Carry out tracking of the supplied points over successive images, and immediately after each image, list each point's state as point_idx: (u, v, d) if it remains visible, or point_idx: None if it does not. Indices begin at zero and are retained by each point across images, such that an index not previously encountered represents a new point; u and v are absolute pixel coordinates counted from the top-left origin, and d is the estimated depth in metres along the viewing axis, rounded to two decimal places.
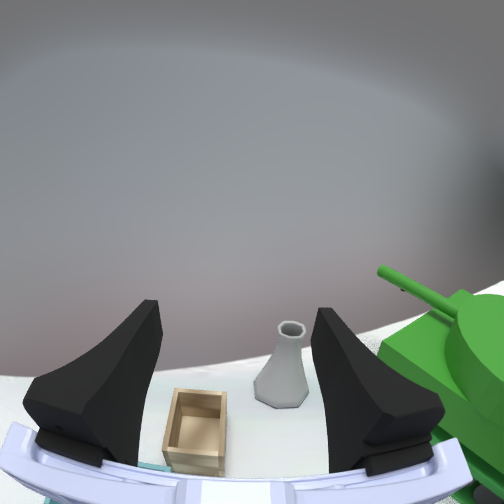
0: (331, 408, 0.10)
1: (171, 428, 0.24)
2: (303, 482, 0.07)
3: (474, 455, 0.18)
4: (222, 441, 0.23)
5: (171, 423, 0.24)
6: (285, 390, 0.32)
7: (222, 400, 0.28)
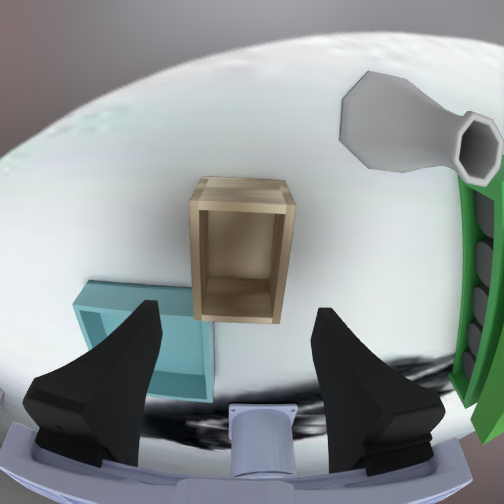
0: (331, 408, 0.10)
1: (200, 283, 0.18)
2: (303, 482, 0.07)
3: (491, 357, 0.22)
4: (279, 304, 0.18)
5: (198, 277, 0.18)
6: (398, 167, 0.17)
7: (286, 227, 0.16)
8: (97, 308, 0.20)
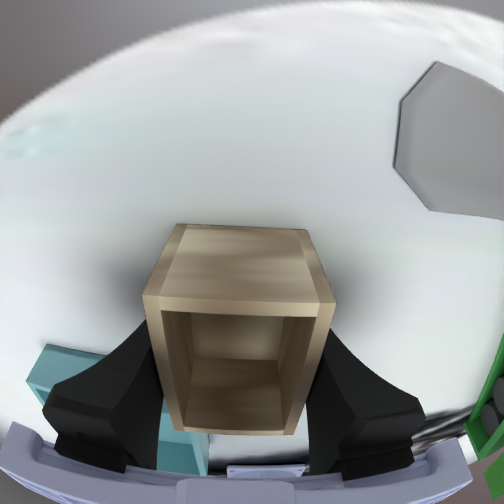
0: (312, 409, 0.10)
1: (177, 396, 0.11)
2: (303, 482, 0.07)
3: None
4: (295, 418, 0.11)
5: (174, 392, 0.10)
6: None
7: (315, 335, 0.09)
8: None
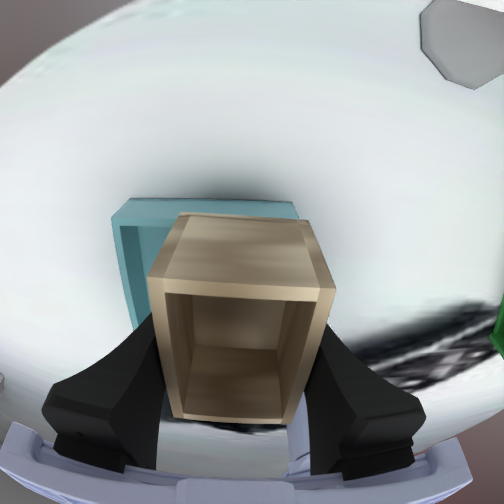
0: (312, 409, 0.10)
1: (178, 381, 0.11)
2: (303, 482, 0.07)
3: None
4: (294, 406, 0.12)
5: (174, 377, 0.11)
6: (477, 74, 0.13)
7: (315, 320, 0.09)
8: (147, 218, 0.16)
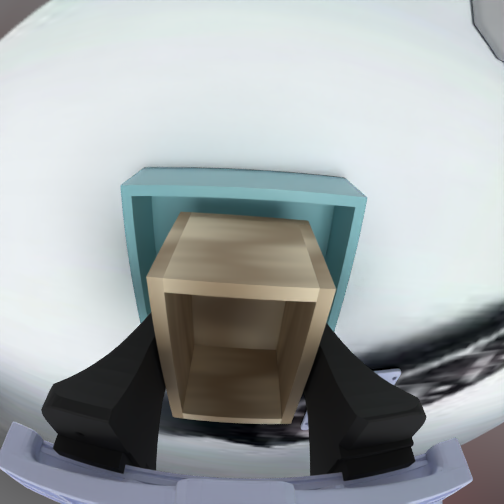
0: (312, 409, 0.10)
1: (177, 381, 0.11)
2: (302, 482, 0.07)
3: None
4: (293, 406, 0.12)
5: (174, 377, 0.11)
6: None
7: (315, 320, 0.09)
8: (170, 186, 0.12)
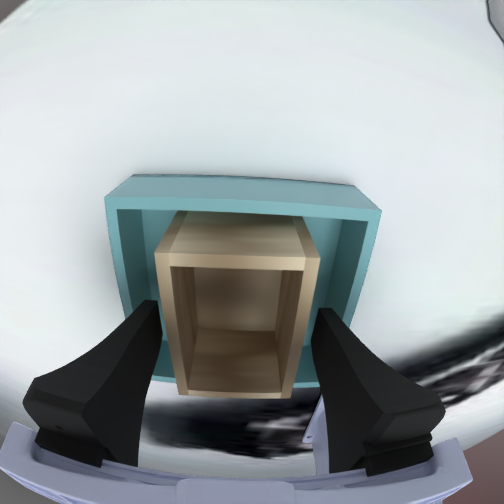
0: (331, 408, 0.10)
1: (182, 356, 0.12)
2: (303, 482, 0.07)
3: None
4: (291, 378, 0.13)
5: (179, 351, 0.12)
6: None
7: (304, 288, 0.10)
8: (159, 198, 0.11)
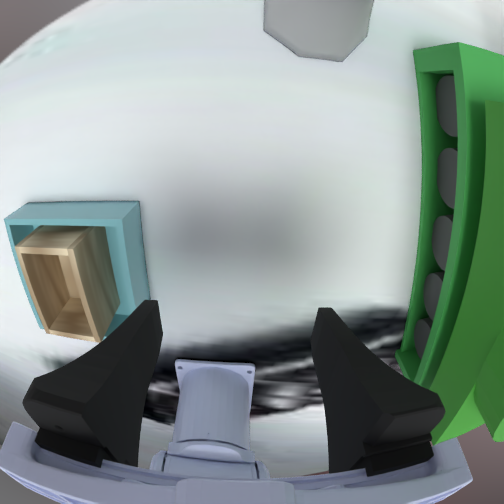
0: (331, 408, 0.10)
1: (40, 305, 0.19)
2: (303, 482, 0.07)
3: (455, 317, 0.19)
4: (93, 326, 0.19)
5: (37, 301, 0.18)
6: (324, 40, 0.14)
7: (72, 266, 0.17)
8: (23, 219, 0.17)
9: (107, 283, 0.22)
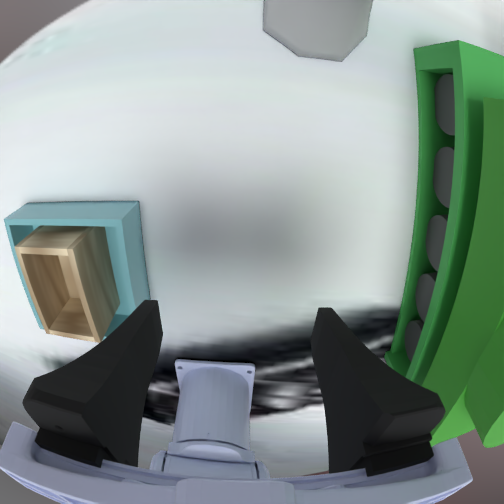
0: (331, 408, 0.10)
1: (40, 305, 0.19)
2: (303, 482, 0.07)
3: (447, 318, 0.19)
4: (93, 326, 0.19)
5: (36, 301, 0.18)
6: (323, 40, 0.14)
7: (72, 266, 0.17)
8: (23, 219, 0.17)
9: (107, 283, 0.22)
